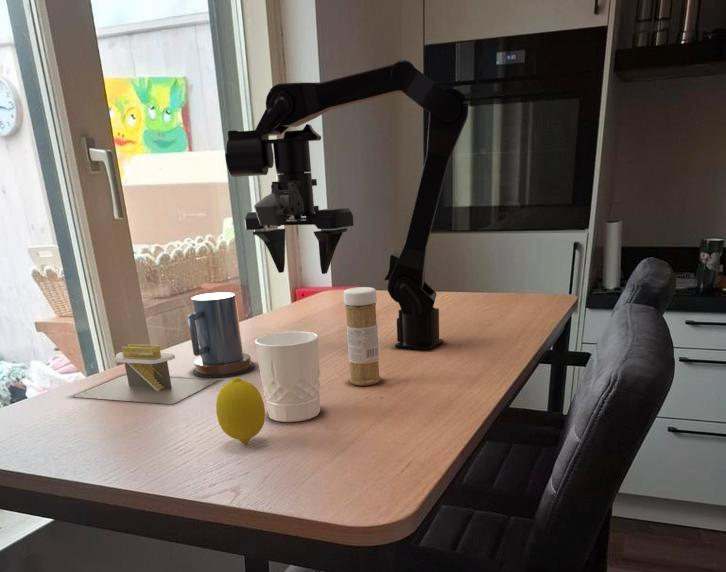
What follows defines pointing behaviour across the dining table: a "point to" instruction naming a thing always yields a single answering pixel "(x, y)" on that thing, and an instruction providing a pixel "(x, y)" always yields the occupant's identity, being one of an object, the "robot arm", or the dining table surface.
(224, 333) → the mug
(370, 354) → the spice jar
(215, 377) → the base
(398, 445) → the dining table surface
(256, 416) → the lemon
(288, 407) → the white cup
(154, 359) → the platform
